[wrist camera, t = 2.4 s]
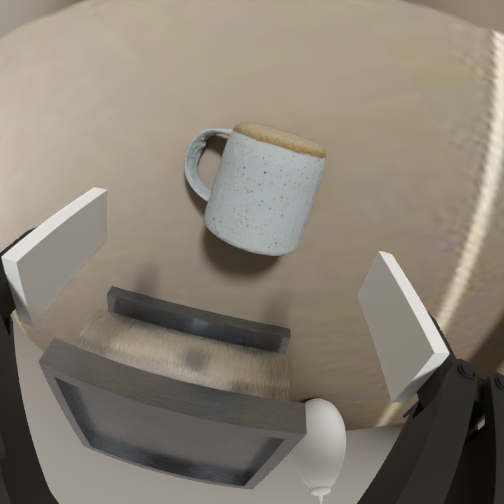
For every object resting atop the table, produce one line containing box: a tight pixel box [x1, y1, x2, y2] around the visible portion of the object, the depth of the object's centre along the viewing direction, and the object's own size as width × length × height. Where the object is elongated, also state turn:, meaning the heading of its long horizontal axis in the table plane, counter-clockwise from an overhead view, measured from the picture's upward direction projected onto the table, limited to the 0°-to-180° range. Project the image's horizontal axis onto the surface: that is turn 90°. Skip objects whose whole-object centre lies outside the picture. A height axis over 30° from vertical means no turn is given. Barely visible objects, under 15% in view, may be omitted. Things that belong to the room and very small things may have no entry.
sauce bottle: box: [291, 399, 346, 504], centre depth 32 cm, size 8×8×18 cm
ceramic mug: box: [184, 122, 326, 256], centre depth 22 cm, size 11×8×8 cm
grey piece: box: [39, 286, 307, 490], centre depth 28 cm, size 21×17×15 cm
